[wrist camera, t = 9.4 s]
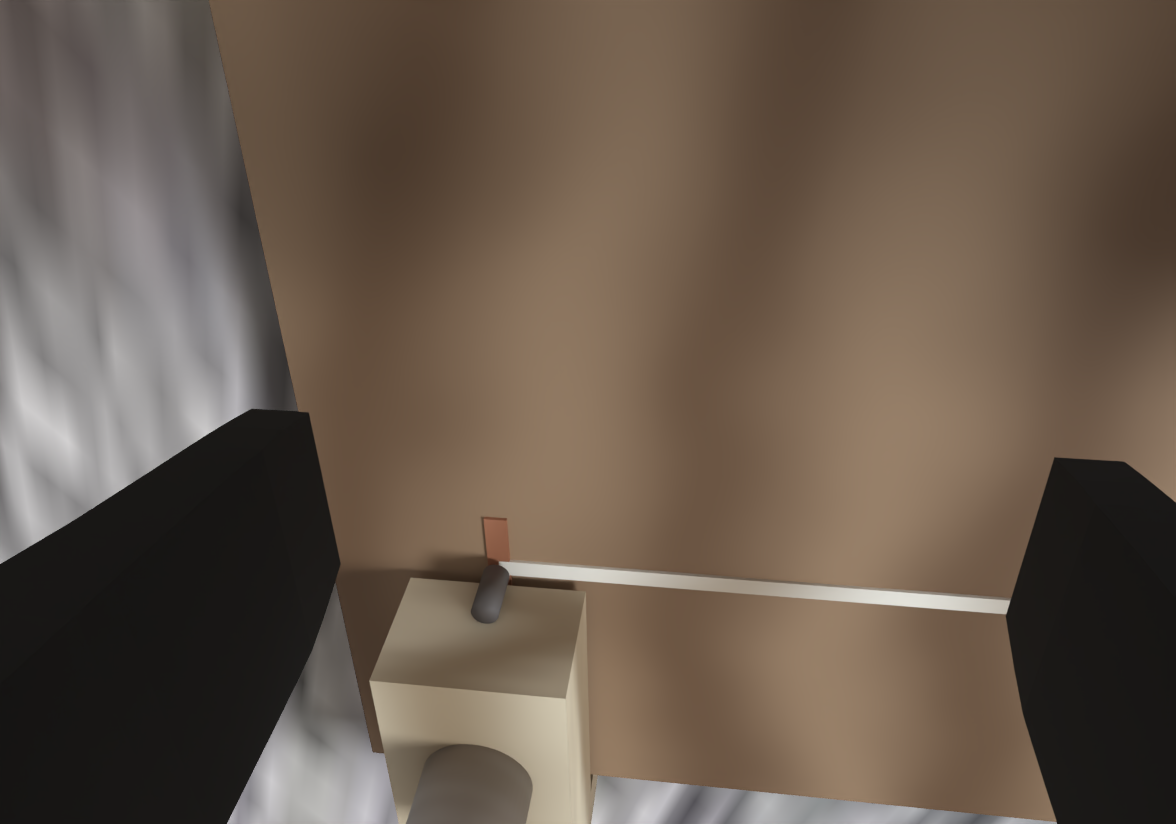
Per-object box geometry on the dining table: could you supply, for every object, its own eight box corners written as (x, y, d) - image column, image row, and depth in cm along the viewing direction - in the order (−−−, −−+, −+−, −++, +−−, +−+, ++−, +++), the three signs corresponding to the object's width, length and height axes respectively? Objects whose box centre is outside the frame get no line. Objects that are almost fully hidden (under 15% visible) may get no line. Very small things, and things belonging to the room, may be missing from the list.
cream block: (594, 521, 23) (515, 934, 15) (598, 765, 28) (541, 1171, 20) (427, 509, 23) (264, 903, 15) (461, 751, 28) (351, 1143, 20)
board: (1370, -79, 15) (1451, -57, 13) (1049, 755, 26) (1071, 826, 24) (248, -78, 17) (193, -59, 15) (394, 693, 28) (371, 754, 26)
